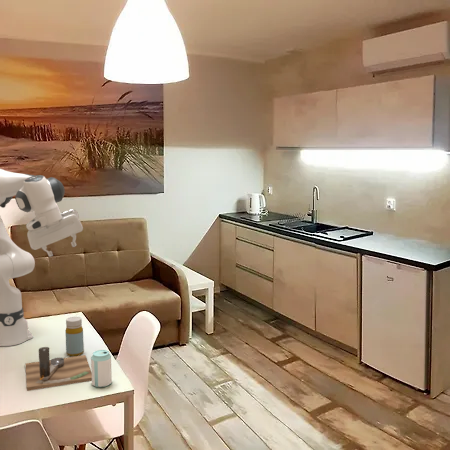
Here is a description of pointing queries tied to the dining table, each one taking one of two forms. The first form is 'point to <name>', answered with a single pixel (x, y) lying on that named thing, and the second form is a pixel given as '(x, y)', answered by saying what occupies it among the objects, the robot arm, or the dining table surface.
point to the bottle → (74, 336)
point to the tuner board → (59, 373)
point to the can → (101, 368)
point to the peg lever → (48, 363)
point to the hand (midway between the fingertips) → (62, 251)
